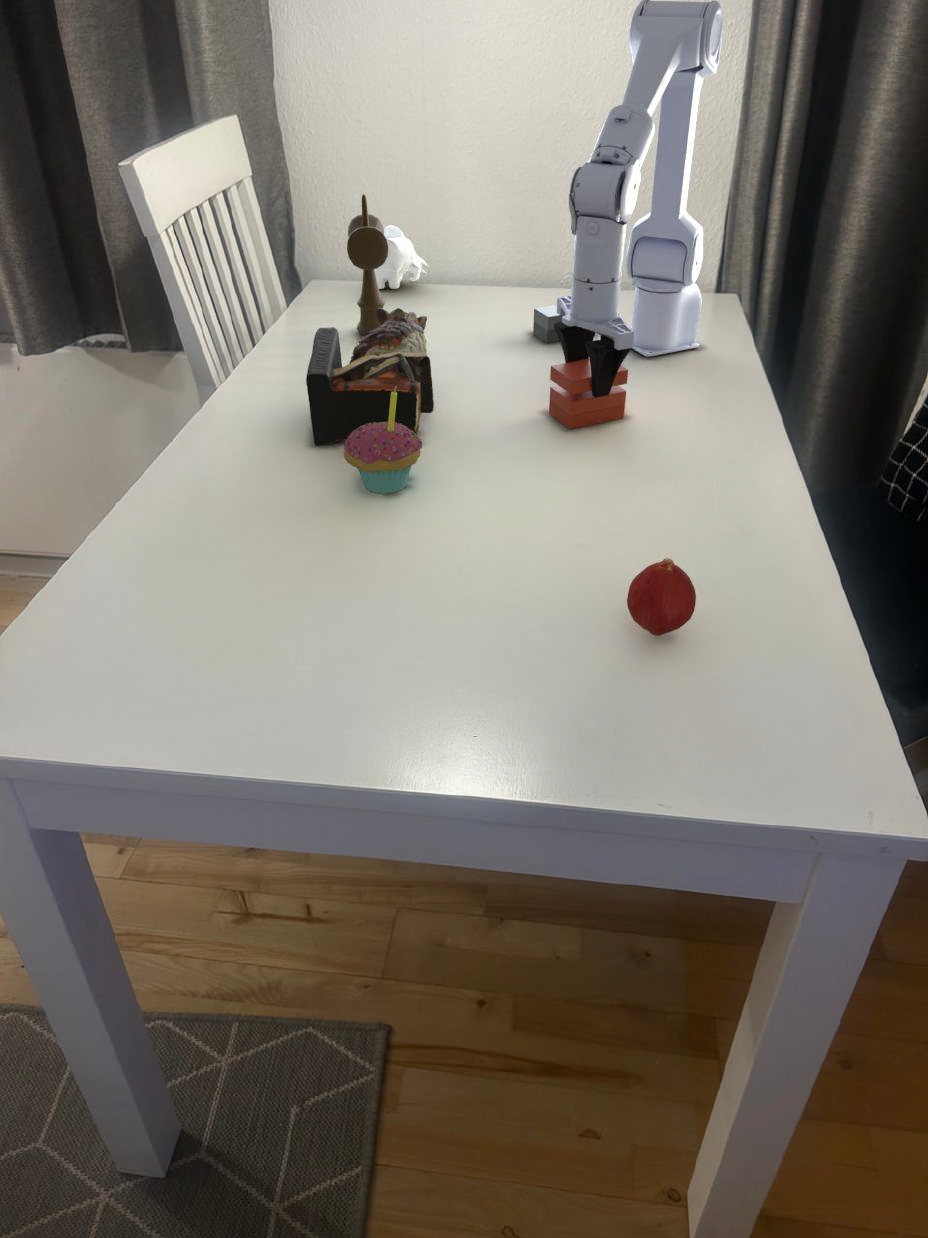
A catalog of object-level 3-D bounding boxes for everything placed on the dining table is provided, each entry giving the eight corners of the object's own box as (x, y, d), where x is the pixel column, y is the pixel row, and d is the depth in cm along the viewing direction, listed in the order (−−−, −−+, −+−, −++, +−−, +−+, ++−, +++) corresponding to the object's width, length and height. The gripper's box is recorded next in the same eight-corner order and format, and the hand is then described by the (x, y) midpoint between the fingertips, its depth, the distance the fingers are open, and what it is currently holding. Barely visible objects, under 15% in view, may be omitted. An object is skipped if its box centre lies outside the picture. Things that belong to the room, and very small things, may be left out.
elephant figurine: (426, 293, 158) (425, 239, 152) (357, 292, 158) (353, 238, 153) (431, 276, 165) (429, 224, 160) (365, 275, 166) (362, 224, 161)
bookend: (302, 379, 105) (318, 288, 123) (316, 459, 112) (329, 362, 130) (430, 372, 105) (427, 282, 123) (436, 453, 112) (432, 357, 130)
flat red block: (604, 368, 118) (605, 355, 117) (627, 383, 114) (628, 369, 113) (549, 379, 115) (550, 365, 114) (571, 394, 111) (572, 380, 110)
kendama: (354, 343, 139) (342, 202, 126) (353, 322, 146) (342, 187, 134) (393, 342, 139) (386, 201, 127) (390, 320, 147) (383, 185, 135)
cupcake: (433, 473, 105) (430, 373, 98) (405, 508, 99) (400, 404, 92) (365, 462, 107) (357, 363, 100) (334, 496, 101) (323, 393, 94)
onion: (617, 615, 83) (625, 540, 78) (679, 611, 83) (691, 537, 79) (631, 655, 78) (641, 578, 74) (697, 651, 79) (711, 575, 74)
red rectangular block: (601, 402, 121) (602, 389, 120) (623, 417, 117) (625, 404, 116) (548, 413, 118) (549, 400, 117) (569, 429, 114) (570, 416, 113)
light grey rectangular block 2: (578, 313, 143) (579, 300, 142) (593, 322, 140) (594, 309, 138) (533, 321, 140) (533, 308, 139) (547, 330, 137) (548, 317, 136)
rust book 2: (602, 389, 120) (603, 375, 119) (625, 404, 116) (626, 390, 115) (549, 400, 117) (550, 386, 116) (570, 416, 113) (571, 402, 112)
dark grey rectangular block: (577, 326, 144) (578, 313, 143) (592, 335, 141) (593, 322, 140) (532, 333, 141) (533, 321, 140) (547, 343, 138) (547, 330, 137)
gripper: (537, 264, 111) (533, 371, 119) (600, 298, 100) (591, 414, 109) (587, 257, 113) (579, 363, 121) (654, 289, 103) (641, 403, 111)
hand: (588, 386), depth 115 cm, fingers closed on flat red block, 5 cm apart
